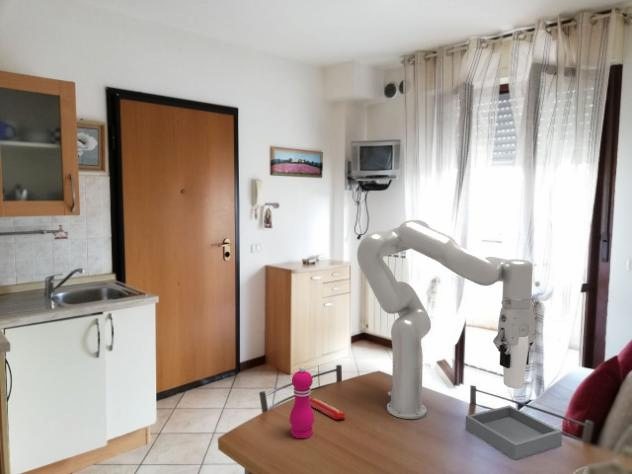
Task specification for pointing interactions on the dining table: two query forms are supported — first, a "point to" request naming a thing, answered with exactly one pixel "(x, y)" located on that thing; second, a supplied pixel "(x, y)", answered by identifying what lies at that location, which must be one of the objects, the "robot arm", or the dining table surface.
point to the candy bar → (327, 408)
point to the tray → (513, 431)
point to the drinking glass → (516, 364)
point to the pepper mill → (302, 405)
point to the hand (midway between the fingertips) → (514, 364)
